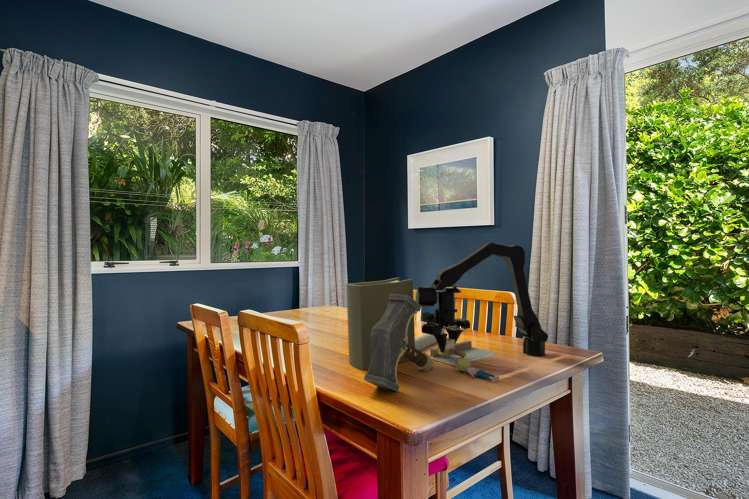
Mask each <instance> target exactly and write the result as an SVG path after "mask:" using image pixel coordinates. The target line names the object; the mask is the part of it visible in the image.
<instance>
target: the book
mask: <svg viewBox="0 0 749 499" xmlns="http://www.w3.org/2000/svg"><path fill="white" fill-rule="evenodd" d="M390 294H399V295H408V296H411V297H412V298H413V299H414V280H413V278H409V279H403V280H401V279H400V277H398V276H397V277H393V278H389V279H385V280H384V279H383V280H376V281H375V280H374V281H364V282H354V283H346V303H347V304H346V305H347V310H346V312H347V332H348V333H347V336H348V338H347V339H348V363H349V365H350V366H351V367H353V368H355V369H358V370H361V371H364V370H365V371H366V370H369V366H370V361H371V352H372V342H371V332H372V328H373V327H374V326H375V325H376V324H377V323H378V322H379V321H380V319H381V318H382V316H383V315H384V313H385V311H386V309H387V307H388V304H389V295H390ZM407 336H408V344H411V345H412V346H413V347H415V336H416V335H415V315H414V316H413V317H412V318H411V320H410V322H409V325H408V331H407ZM401 362H410V361H409V359H407V358H405V357H404V356H401V357H400V359H399V362H398V363H401Z"/></svg>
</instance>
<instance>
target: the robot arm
mask: <svg viewBox="0 0 749 499" xmlns="http://www.w3.org/2000/svg"><path fill="white" fill-rule="evenodd" d="M491 256H496V257H501V258H502V260H503V262H504V265H505V267H506V268H507V269H508V272H509V274H510V278H511V279H510V280H511V283H512V288H513V291H514V296H515V300H516V301H515V302H516V305H517V314H516V315H513V319H514V321H515V324H514V327H515V328H517V329H518V331H519V332H521V336H522V337H524V338H523V341H522V351H523V352H522V353H523V354H525V355H527V356H530V357H539V358H541V357H545V356H546V342H547V341H548V338H549V335H548V334H547V333H546V332H545V331H544V330H543V328H542V325H541V323H540V320H539V317H538V316H537V314H536V313H535V311H534V310H533V307H532V306H533V305H532V302H531V296H530V293H529V289H528V283H527V280H526V274H525V265H526V252H525V249H524V248H523V247H522V246H521V245H513V244H511V245H503V244H496V243H495V242H486V243H484V244H483V246H481V247H479V248H478V249H476V250H475V251H473V252H472V253H470V254H469V255H467V256H466V257H464V258H463V259H461V260H460V261H459V262H457V263H454V264H451V265H449V266H446V267H444V268H442V269H440V270H438V271H437V272H436V275H435V280H433V282H432V283H431V284H430V286H416V287H417V288H416V291H415V292H416V293H415V296H414V297H415V299H414V300H415V301H416V302H417V303H418V304H419V305H421V306H422V307H424V308H425V307H434V306H435V305H436V304H437V308H435V309H434V312H433V313H430V312H429V311H427V312H423V313H422V322H424V324H422V325H421V333H422V334H430V335H434V337H435V338H436V340H437V342H436V343H437V347H438V346H439V349H440V351H441V352H442V353H443V352H444V349H445V344H446V339H447V338H449V339H453V340H455V344H456V343H458V342H457V341H458V339H459V338H460V336H461V334H462V333H463V332H464V330H468V329H471V321H469V319H464V318H459V317H458V318H456V315H455V314H456V313H458V309H457V308H455V306H456V305H455V301H456V300H455V297H456V296H455V294H461V293H462V292H461V290H460V289H459V288H458V286H456V285H455V284H457V282H458V281H459V280H461V279H462V277H463V276H464V275H465V274H466V273H467V272H468V271H471V269H472V268H474V267H476V266H477V265H478V264H481V262H483V261H484V260H486V259H488V258H489V257H491ZM422 307H421V308H422ZM461 327H462V328H463V329H464V330H463V329H461ZM445 331H446V332H447V333H446V332H445Z"/></svg>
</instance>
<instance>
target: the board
mask: <svg viewBox="0 0 749 499" xmlns="http://www.w3.org/2000/svg"><path fill="white" fill-rule="evenodd" d="M472 343H473V342H472V340H465V341H459V342H456V344H455V349H456V350H460V351H464V352H466V356H465V357H464V359H467V360H468V361H469V362H470V363H472V362H475V361H479V360H483V359H486V358H490V357H495V356H497V355H499V353H498V352H494V351H489V350H486V349H481V348H476V347H473V345H472ZM429 352H430V353H429V354H430V355H428V356H429V357H430V358H431V359H432V361H434V362H436V363H440V364H443V365H446V366H450V367H454V368H456V365H455V363H456V362H457V360H456V358H459V357H461V356H458V355H450V356H444V355H440V354H438V346H437V347H433V348H430V351H429Z"/></svg>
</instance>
